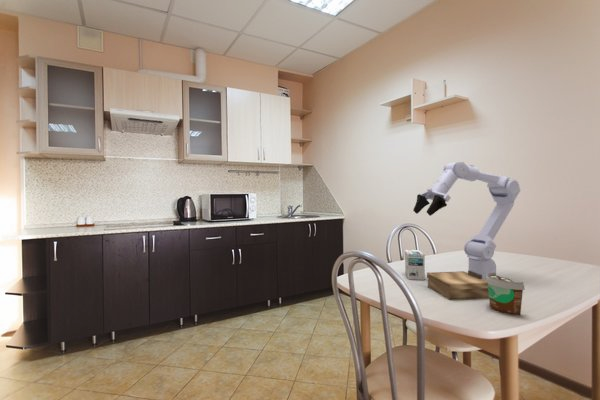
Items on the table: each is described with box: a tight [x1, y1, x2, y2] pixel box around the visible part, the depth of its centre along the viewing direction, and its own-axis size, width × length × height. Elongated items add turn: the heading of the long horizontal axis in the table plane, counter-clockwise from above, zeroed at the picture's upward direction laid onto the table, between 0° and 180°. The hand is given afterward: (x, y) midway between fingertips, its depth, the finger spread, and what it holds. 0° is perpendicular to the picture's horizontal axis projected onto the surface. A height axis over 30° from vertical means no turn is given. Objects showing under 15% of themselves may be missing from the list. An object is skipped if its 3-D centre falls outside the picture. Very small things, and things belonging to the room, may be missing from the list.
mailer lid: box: [426, 270, 488, 290], centre depth 111 cm, size 15×15×3 cm
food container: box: [485, 271, 526, 316], centre depth 95 cm, size 12×6×10 cm, turn 5°
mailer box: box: [427, 275, 489, 301], centre depth 112 cm, size 15×14×4 cm
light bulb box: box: [404, 249, 426, 281], centre depth 133 cm, size 11×7×11 cm, turn 168°
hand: (421, 212), depth 119 cm, fingers open, 7 cm apart
